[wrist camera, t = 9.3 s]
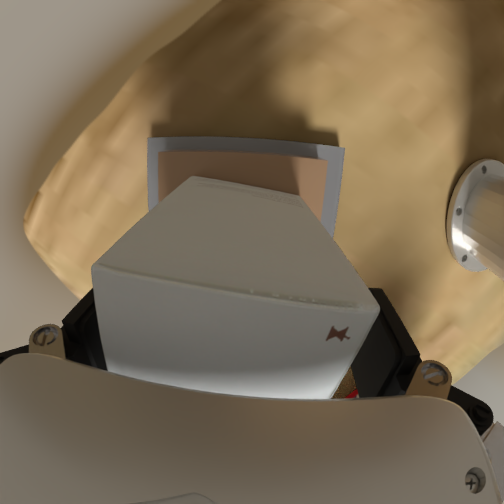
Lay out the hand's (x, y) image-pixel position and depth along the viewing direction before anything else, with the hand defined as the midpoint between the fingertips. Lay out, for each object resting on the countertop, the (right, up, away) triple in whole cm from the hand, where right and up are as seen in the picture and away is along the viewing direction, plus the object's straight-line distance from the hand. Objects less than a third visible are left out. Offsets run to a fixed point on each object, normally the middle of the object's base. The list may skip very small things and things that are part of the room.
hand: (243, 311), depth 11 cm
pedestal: (-1, +5, +12) cm, 13 cm away
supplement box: (-1, +3, +8) cm, 9 cm away
